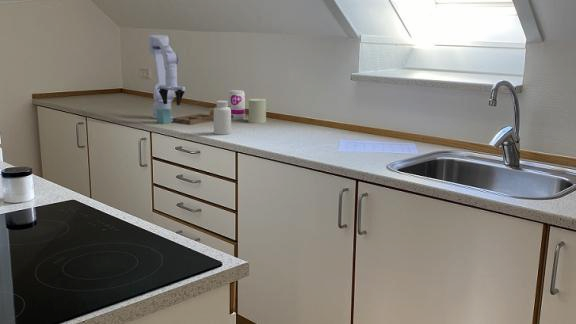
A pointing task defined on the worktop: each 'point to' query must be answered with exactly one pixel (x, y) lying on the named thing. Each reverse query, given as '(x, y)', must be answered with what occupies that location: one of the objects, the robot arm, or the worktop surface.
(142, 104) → the worktop surface
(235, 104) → the supplement can
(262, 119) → the can
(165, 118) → the teal block
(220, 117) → the pill bottle
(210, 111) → the maple block
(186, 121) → the walnut frame
